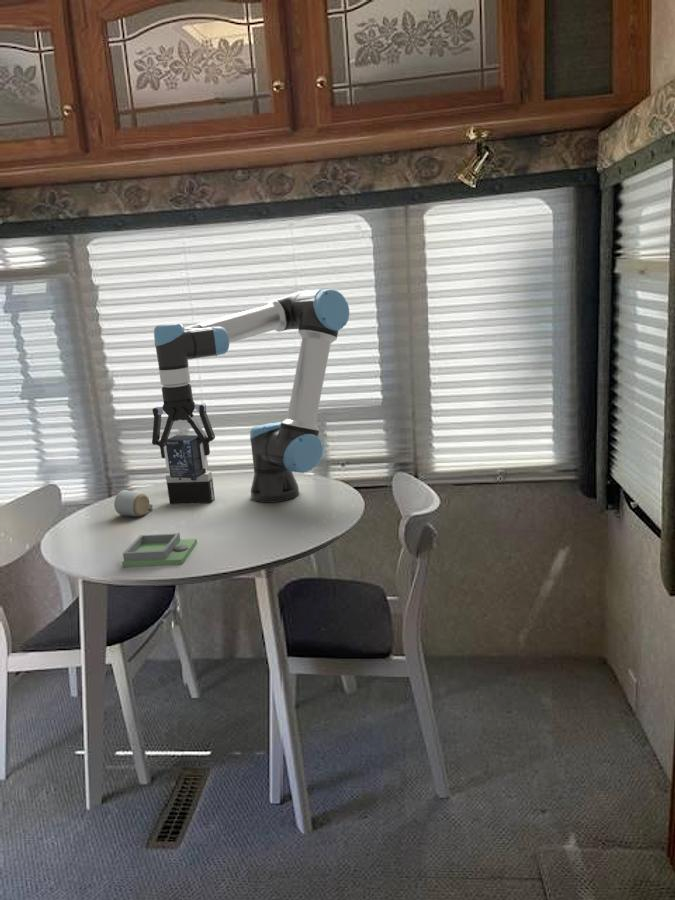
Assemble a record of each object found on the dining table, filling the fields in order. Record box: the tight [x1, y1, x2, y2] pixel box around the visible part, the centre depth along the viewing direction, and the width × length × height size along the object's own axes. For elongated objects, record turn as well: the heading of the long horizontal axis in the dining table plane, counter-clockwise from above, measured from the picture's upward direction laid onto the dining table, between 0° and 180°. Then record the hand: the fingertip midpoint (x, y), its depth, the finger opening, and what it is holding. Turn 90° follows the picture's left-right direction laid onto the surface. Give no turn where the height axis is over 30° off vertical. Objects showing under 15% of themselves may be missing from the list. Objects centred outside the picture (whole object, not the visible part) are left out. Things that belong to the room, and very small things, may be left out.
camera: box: [165, 470, 216, 505], centre depth 220 cm, size 14×8×10 cm, turn 81°
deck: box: [122, 533, 198, 567], centre depth 176 cm, size 15×14×3 cm
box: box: [165, 434, 207, 479], centre depth 184 cm, size 8×6×11 cm
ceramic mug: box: [113, 489, 153, 518], centre depth 211 cm, size 11×8×8 cm
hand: (187, 468), depth 185 cm, fingers closed on box, 9 cm apart
